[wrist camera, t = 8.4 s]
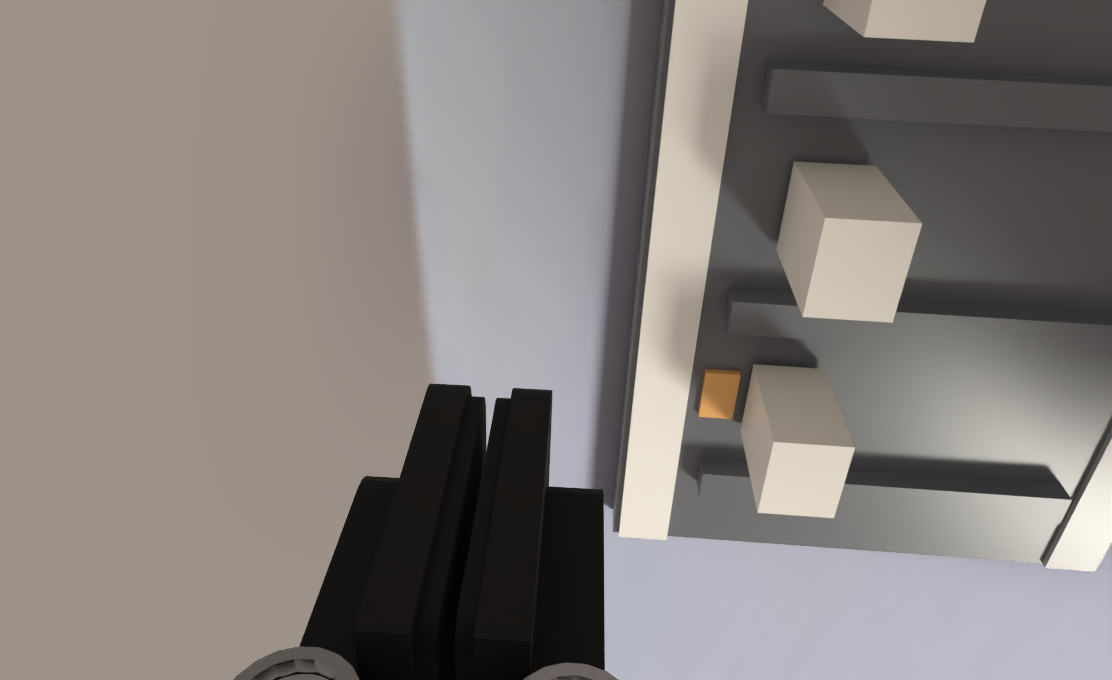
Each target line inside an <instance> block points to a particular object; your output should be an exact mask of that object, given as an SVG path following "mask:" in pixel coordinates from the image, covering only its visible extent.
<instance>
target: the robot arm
mask: <svg viewBox="0 0 1112 680" xmlns="http://www.w3.org/2000/svg"><path fill="white" fill-rule="evenodd" d="M551 415H552V390H538V389H519V388H513V390H512V395H511V399H509V398H497V399H496V402H495V408H494V413H493V419H492V424H491V430H490V435H489V441H488V446H487V452H486V403H485V398H484V397H473V396H472V395H471V387H470V386H465V385H447V384H430V385H429V386H428V388H427V391H426V395H425V398H424V401H423V404H422V408H421V411H420V414H419V417H418V420H417V424H416V427H415V430H414V433H413V436H412V440H411V443H410V446H409V449H408V453H407V456H406V459H405V462H404V466H403V469H402V472H401V475H400V478H388V477H371V476H366V477H364V478H363V479H362V481H361V483H360V485H359V487H358V489H357V492H356V495H355V497H354V500H353V503H352V505H351V508H350V511H349V513H348V516H347V519H346V522H345V524H344V527H343V530H342V533H341V535H340V538H339V541H338V544H337V546H336V549H335V551H334V554H333V557H332V560H331V562H330V565H329V568H328V570H327V573H326V576H325V579H324V582H323V584H322V587H321V589H320V592H319V595H318V598H317V600H316V603H315V606H314V608H313V611H312V614H311V617H310V620H309V622H308V625H307V628H306V630H305V633H304V636H303V638H302V641H301V644H300V646H299V647H295V648H289V649H285V650H279V651H276V652H274V653H272V654H270V655H267V656H265V657H263V658H262V659H259V660H257V661H255V662H254V663H252V664H251V665H250V666H249V667H247V668H246V669H245V670H243V671H242V672H241V673H240V674H238V675H237V676H236V677H235V679H234V680H618V679H617V678H615V677H614V676H612V675H611V674H610V673H608V672H607V671H605V660H604V508H603V490H598V489H581V488H563V487H549V465H550V440H551Z"/></svg>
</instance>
